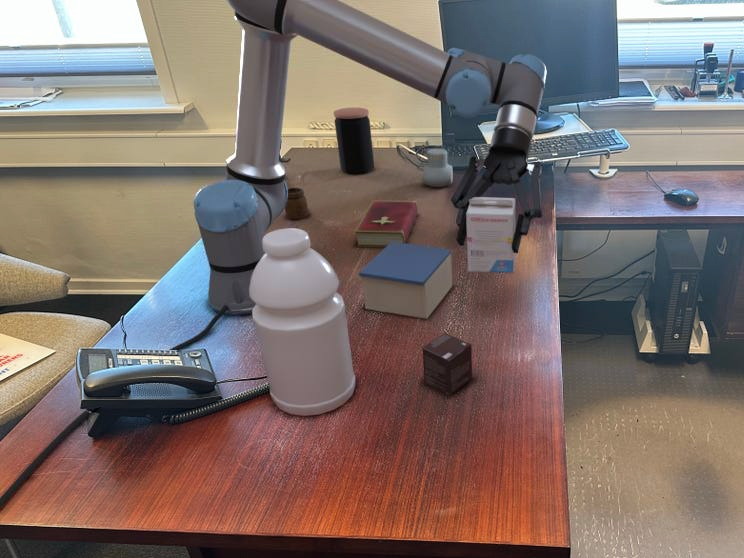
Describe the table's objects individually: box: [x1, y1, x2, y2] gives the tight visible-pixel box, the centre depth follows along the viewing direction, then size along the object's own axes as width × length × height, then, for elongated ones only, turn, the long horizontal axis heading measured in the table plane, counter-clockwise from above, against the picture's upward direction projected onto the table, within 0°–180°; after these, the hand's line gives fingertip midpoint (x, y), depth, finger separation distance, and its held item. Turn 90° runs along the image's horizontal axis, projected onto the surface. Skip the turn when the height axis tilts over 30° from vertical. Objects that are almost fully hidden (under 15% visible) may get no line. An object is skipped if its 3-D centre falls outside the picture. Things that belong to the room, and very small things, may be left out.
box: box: [421, 332, 473, 396], centre depth 108 cm, size 6×6×7 cm
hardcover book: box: [354, 200, 419, 248], centre depth 164 cm, size 12×21×4 cm, turn 176°
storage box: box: [360, 253, 453, 320], centre depth 133 cm, size 15×14×8 cm
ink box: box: [466, 196, 516, 274], centre depth 120 cm, size 9×8×13 cm
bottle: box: [249, 227, 356, 417], centre depth 101 cm, size 14×14×28 cm
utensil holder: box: [284, 174, 309, 220], centre depth 171 cm, size 6×6×12 cm
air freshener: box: [422, 148, 454, 188], centre depth 191 cm, size 11×8×10 cm
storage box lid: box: [358, 242, 452, 286], centre depth 131 cm, size 15×14×1 cm
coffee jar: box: [333, 107, 375, 176], centre depth 201 cm, size 11×11×18 cm
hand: (487, 246), depth 118 cm, fingers closed on ink box, 10 cm apart
